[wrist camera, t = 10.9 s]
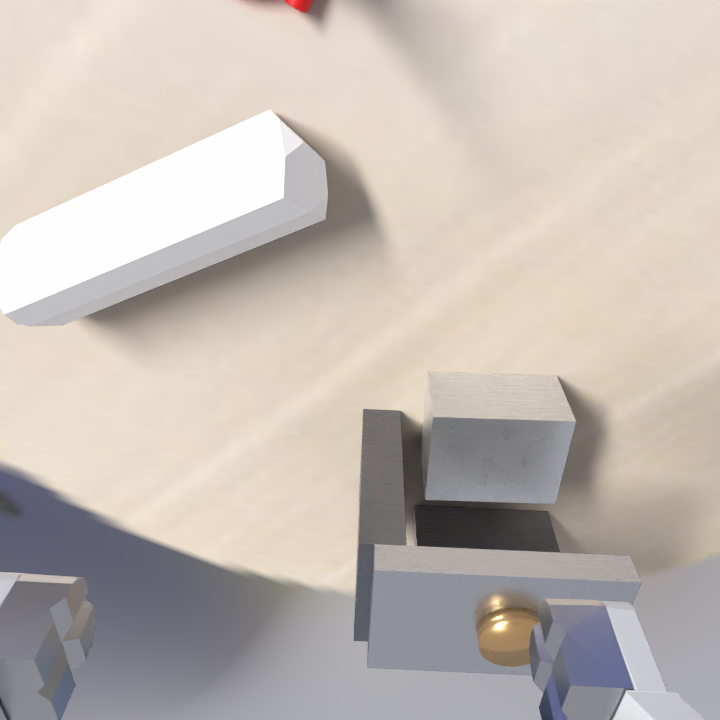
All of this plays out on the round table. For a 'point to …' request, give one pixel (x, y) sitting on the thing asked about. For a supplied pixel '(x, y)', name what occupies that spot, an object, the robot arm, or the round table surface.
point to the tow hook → (300, 4)
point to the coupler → (459, 573)
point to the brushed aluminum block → (495, 437)
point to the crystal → (162, 223)
